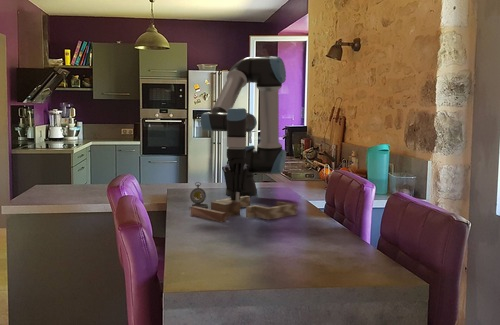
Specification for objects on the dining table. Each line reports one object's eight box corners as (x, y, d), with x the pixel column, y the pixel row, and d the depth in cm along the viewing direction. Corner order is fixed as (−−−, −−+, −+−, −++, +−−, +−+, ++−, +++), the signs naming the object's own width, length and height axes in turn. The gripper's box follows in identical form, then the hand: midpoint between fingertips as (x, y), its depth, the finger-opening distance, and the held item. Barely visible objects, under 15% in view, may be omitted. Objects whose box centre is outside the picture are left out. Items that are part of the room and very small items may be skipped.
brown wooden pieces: (248, 204, 230) (248, 195, 230) (296, 214, 211) (296, 204, 211) (189, 214, 208) (189, 203, 208) (237, 225, 189) (237, 214, 188)
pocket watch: (200, 209, 218) (200, 184, 217) (185, 206, 223) (185, 182, 222) (213, 206, 225) (213, 182, 224) (198, 204, 230) (198, 181, 229)
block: (226, 212, 214) (226, 199, 214) (240, 215, 208) (240, 202, 208) (210, 214, 208) (210, 201, 208) (224, 217, 203) (224, 204, 202)
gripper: (241, 146, 216) (240, 205, 218) (217, 148, 207) (216, 208, 209) (255, 148, 211) (254, 207, 213) (230, 149, 202) (229, 211, 204)
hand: (235, 208), depth 211 cm, fingers closed
